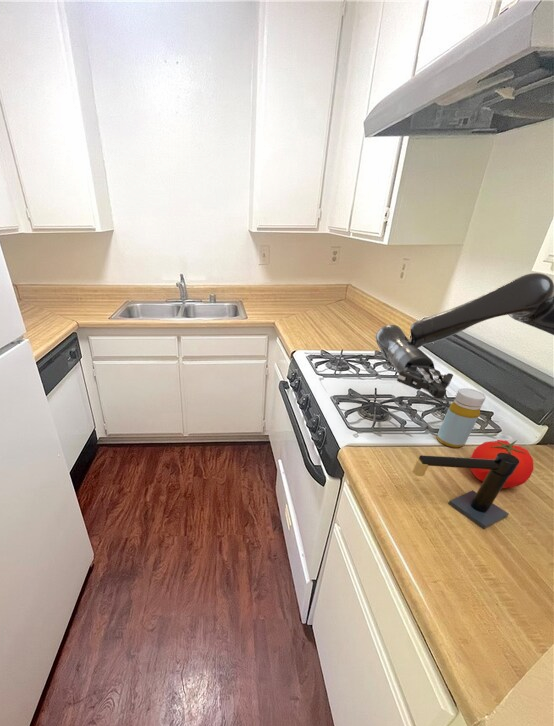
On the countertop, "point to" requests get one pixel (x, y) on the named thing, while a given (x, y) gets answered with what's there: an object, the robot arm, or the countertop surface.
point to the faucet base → (482, 501)
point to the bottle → (461, 418)
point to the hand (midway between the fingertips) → (440, 394)
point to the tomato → (500, 446)
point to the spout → (468, 463)
